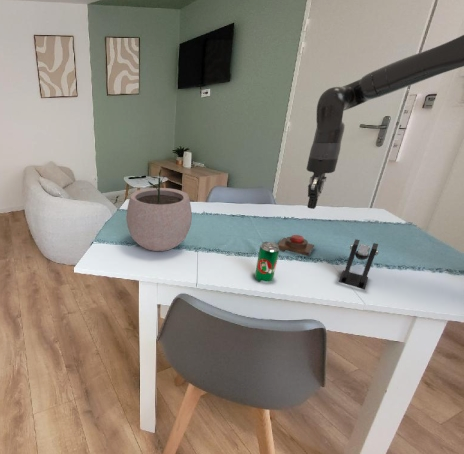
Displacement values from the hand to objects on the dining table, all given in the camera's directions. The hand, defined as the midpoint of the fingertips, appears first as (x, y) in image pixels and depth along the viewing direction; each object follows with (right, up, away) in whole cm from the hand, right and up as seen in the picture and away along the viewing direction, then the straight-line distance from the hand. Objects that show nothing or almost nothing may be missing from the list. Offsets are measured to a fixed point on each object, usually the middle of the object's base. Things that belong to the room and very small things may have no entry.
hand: (311, 207), depth 99 cm
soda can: (-21, -23, -9) cm, 33 cm away
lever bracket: (+4, -23, -12) cm, 26 cm away
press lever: (+6, -16, -12) cm, 21 cm away
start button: (-1, -12, +6) cm, 13 cm away
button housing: (-1, -15, +7) cm, 17 cm away
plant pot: (-50, -14, +15) cm, 54 cm away
